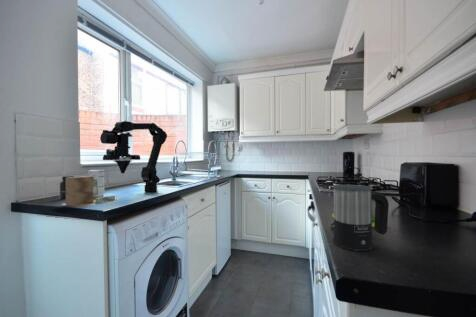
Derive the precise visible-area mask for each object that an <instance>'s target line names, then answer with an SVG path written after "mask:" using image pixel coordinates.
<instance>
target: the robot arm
mask: <svg viewBox="0 0 476 317" xmlns="http://www.w3.org/2000/svg"><path fill="white" fill-rule="evenodd" d="M136 130H137V131H138V130H148V131H149V134H150V135H151V136H152V144H153V145H152V147H151V152H150V154H149V158H148V162H147V164H146V166H143V167H142V169H141V172H140V178H142V181H143V183H145V184H144V194H157V193H158V191H159V190H158V183H160V181H161V179H160V178H159V176H157V167H156V166H157V163H158V159H159V156H160V152H161V149H162V146H163V144H165V143H166V140H167V139H168V134H167V132H166V130H164V129H163V128H161V127H160V126H158V125H157V124H156V123H155V122H145V123H144V122H132V121H127V120H124V121H123V120H122V121H116V122H115V124H114V127H112V129H111V130H107V129H104V130H102V132H101V135H100V137H99V138H100V139H99V141H100V143H102V144H103V145H104V144H106V145H107V144H108V145H114V149H111V148H107V149H106V150H105V152H106V154H103V156H102V161H113V162H114V163H116V164H117V166H118V168H119V171H120V173H121V174H125V172H126V170H127V168H128V166H129V165H130V163H131V162H132V160H133V161H134V160H135V161H137V160H138V161H139V160H141V156H140V155H139V154H131V153H129V149H131V146H129V138H131V137H133V134H131V133H130V132H132V131H136Z"/></svg>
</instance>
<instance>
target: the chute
mask: <svg viewBox="0 0 476 317" xmlns="http://www.w3.org/2000/svg"><path fill="white" fill-rule="evenodd" d="M120 200H122V199H121V198H116V195H107V196H104V193H101V194H93V203H90V204H85V205H80V206H73V208H74V207H76V208H85V207H90V206H95V205H100V204H105V203H106V204H107V203H110V202H115V201H120ZM60 205H62V206H67V205H66V203H61V204H60Z"/></svg>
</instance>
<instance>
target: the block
mask: <svg viewBox="0 0 476 317" xmlns="http://www.w3.org/2000/svg"><path fill="white" fill-rule="evenodd" d="M93 195H94V194H93V177H91V176H89V175H88V176H87V175H83V176H74V177H67V178H66V199H65V204H66V205H65V206H68V207H74V206H80V205H85V204H90V203H93Z"/></svg>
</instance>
